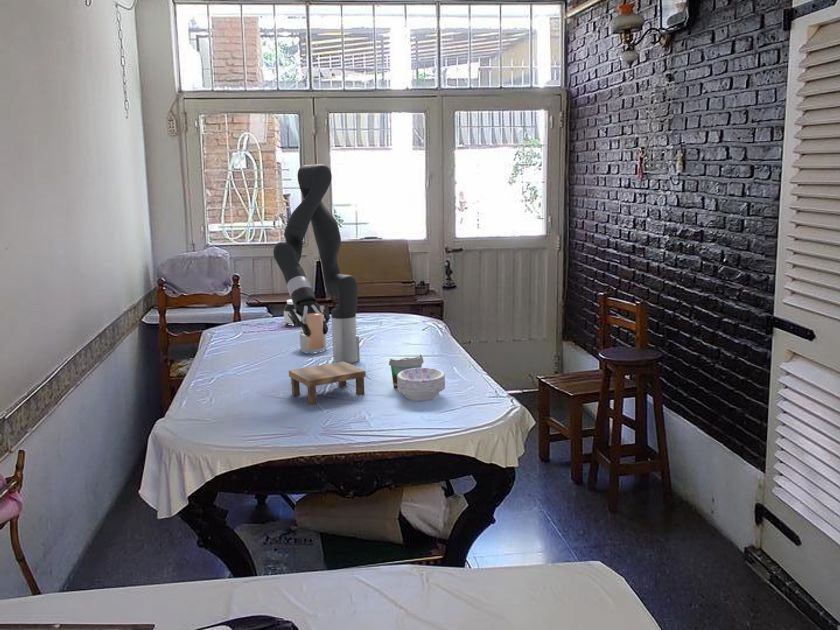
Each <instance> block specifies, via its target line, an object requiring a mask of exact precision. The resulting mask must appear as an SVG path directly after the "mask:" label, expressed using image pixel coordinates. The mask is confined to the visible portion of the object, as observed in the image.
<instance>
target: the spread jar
mask: <svg viewBox="0 0 840 630" xmlns="http://www.w3.org/2000/svg"><path fill="white" fill-rule="evenodd" d="M290 309H295V307H294V304H293V302H292V299H291V298H290V299H287V300H286V305H285V307H284V309H283V321H284V322H285V324H286V325H287V324H293V322H292V321H291V319H290V317H289V316H288V312H289V310H290ZM296 315H297V317H298V319H299V320H300V321H301V316H300V315H298V314H297V313H296Z"/></svg>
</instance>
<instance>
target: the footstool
mask: <svg viewBox="0 0 840 630" xmlns="http://www.w3.org/2000/svg"><path fill="white" fill-rule="evenodd" d="M366 373H367V372H366V370H364V369H362V368H360V367H357V366H356V365H353V364H351V363H346V362H344V361H342V362H336V363H335V362H332V363H330V362H329V363H326V364H319V365H314V366H308V367H303V368H302V367H301V368H295V369H290V370H288V377H289V378H290V384H291V395H293V396H298V395H301V390H300V389H301V388H300V386H301V385H300V384H303V385H305V386H306V387H307V404H309V405H310V406H313V405H317V404H318V403H317V402H318V401H317V386H323V385H329V384H334V383H337V384H338V387H341V388H343V387H346V386H347V381H351V380H355V394H356V395H357V396H358V397H359V396H364V395H365V378H366V377H367V374H366Z"/></svg>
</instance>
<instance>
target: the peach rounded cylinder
mask: <svg viewBox="0 0 840 630" xmlns="http://www.w3.org/2000/svg"><path fill="white" fill-rule="evenodd" d="M323 317H324V315H323V313H322V312H320V313H308V314H306V324H307V325H308V328H309V330H310V336H309V337H307V348H308V349H321V348H324V333H323Z"/></svg>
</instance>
